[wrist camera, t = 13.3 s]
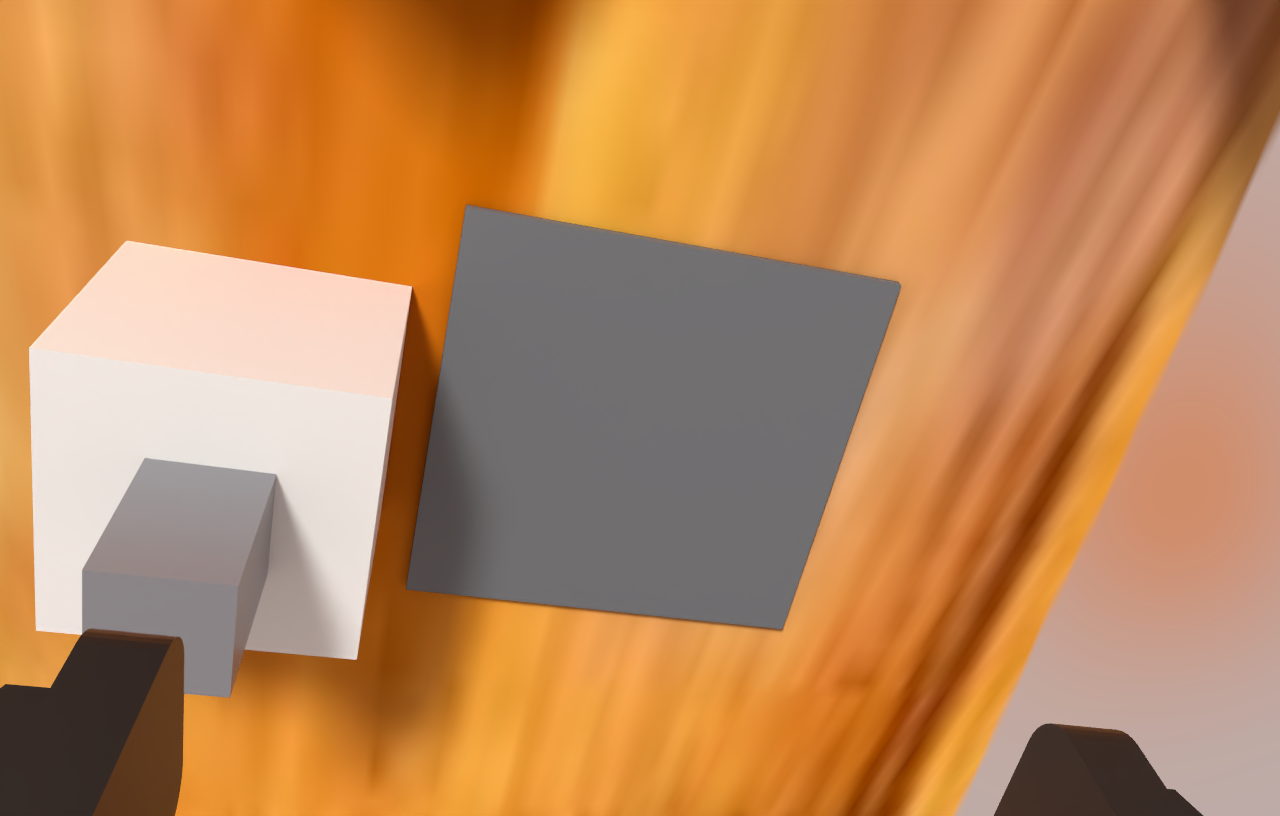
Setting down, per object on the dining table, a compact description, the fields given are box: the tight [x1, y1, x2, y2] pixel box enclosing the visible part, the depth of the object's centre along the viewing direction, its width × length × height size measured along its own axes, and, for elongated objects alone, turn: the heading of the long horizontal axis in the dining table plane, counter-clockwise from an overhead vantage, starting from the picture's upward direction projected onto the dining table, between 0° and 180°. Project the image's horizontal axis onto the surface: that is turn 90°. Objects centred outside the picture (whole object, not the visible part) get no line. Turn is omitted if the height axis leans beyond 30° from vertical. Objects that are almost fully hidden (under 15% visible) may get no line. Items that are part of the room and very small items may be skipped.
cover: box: [29, 241, 412, 697], centre depth 37 cm, size 11×11×16 cm
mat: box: [406, 205, 901, 629], centre depth 47 cm, size 18×18×1 cm
